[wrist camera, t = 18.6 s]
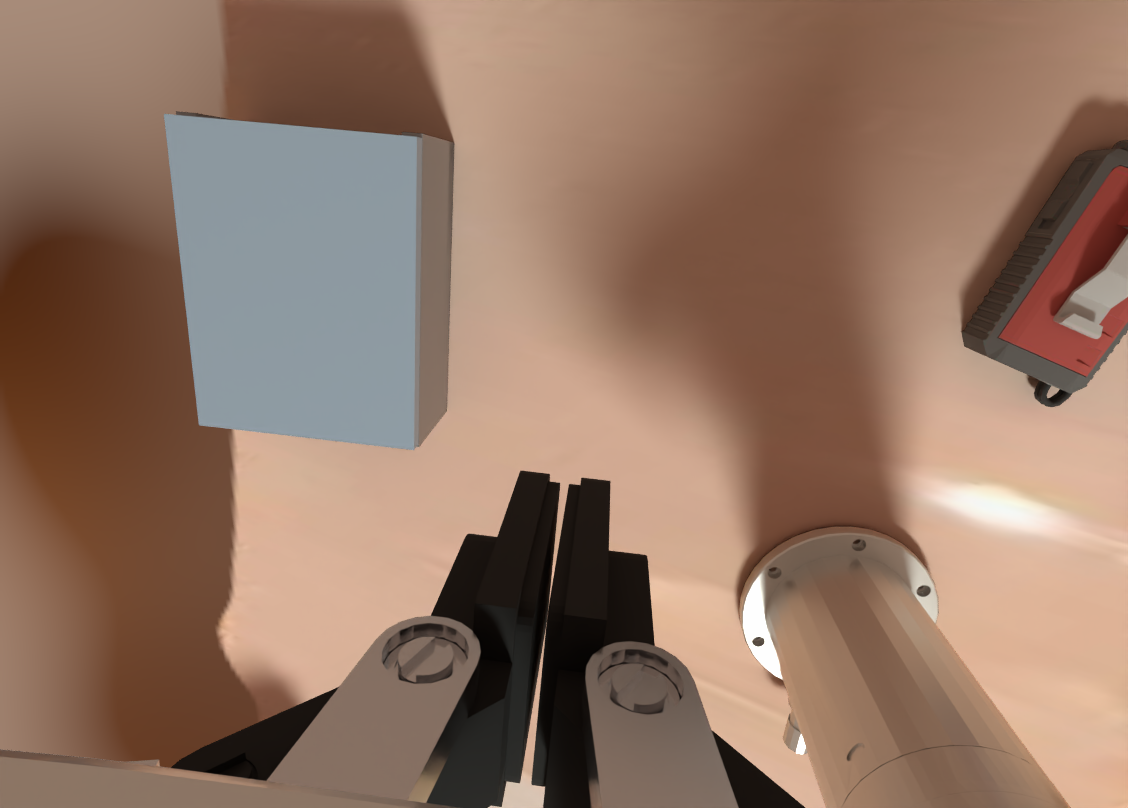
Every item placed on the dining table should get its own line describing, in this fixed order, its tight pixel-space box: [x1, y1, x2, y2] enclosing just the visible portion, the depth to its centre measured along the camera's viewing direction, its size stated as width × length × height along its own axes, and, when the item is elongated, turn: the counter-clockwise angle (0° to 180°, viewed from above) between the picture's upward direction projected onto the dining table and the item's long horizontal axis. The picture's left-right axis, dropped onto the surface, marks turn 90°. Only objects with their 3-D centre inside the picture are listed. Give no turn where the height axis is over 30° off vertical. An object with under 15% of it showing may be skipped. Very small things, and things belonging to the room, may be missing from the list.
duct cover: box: [164, 114, 422, 450], centre depth 32 cm, size 16×12×1 cm
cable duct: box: [176, 112, 454, 447], centre depth 35 cm, size 16×12×6 cm
